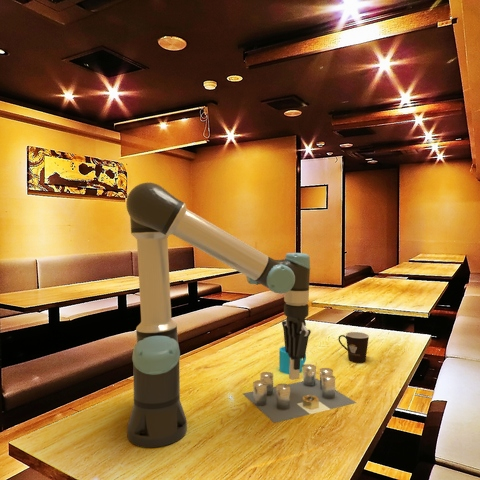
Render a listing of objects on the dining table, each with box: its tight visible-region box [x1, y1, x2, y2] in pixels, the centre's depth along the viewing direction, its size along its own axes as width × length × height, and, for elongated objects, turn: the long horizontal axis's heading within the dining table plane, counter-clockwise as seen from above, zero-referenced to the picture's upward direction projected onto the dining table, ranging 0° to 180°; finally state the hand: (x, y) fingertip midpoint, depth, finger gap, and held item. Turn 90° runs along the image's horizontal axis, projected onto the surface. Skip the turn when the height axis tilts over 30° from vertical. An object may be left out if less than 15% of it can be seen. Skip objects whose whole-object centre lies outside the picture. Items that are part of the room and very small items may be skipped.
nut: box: [303, 395, 319, 409], centre depth 115 cm, size 5×4×2 cm
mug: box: [278, 345, 307, 375], centre depth 144 cm, size 12×8×8 cm
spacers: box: [252, 363, 336, 410], centre depth 121 cm, size 28×14×6 cm, turn 115°
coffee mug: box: [337, 331, 370, 364], centre depth 155 cm, size 12×9×10 cm
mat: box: [242, 378, 357, 424], centre depth 120 cm, size 28×20×1 cm
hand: (294, 378), depth 122 cm, fingers closed
